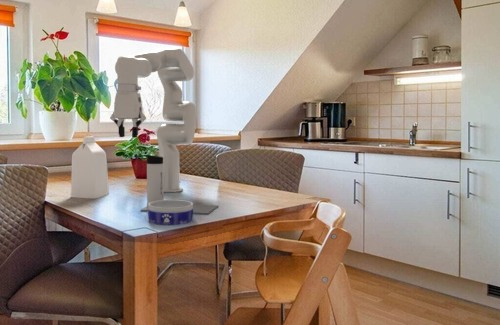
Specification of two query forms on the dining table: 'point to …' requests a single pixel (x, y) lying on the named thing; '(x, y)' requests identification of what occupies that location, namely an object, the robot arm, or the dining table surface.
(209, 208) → the mat
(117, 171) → the dining table surface
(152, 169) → the travel mug
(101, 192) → the milk
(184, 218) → the dog bowl
